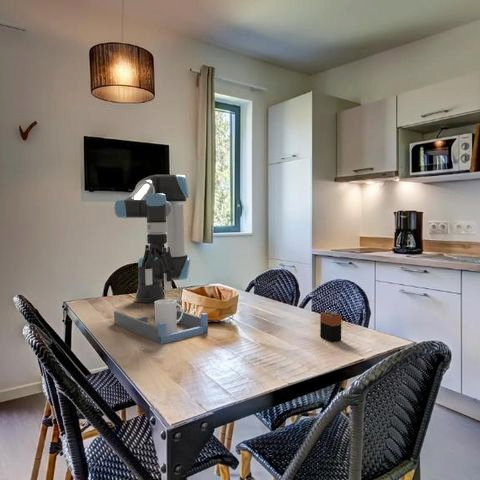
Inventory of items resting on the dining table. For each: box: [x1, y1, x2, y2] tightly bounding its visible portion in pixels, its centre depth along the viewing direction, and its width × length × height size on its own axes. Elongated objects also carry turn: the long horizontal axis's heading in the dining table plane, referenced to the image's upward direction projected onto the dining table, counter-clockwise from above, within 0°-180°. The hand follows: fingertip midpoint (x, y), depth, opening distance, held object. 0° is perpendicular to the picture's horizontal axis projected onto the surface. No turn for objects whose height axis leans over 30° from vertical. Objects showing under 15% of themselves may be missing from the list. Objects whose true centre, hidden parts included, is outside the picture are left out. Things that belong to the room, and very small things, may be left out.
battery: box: [319, 309, 342, 343], centre depth 139 cm, size 4×7×10 cm, turn 27°
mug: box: [154, 298, 184, 334], centre depth 148 cm, size 12×8×12 cm
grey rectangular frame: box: [113, 309, 201, 344], centre depth 155 cm, size 20×34×5 cm, turn 43°
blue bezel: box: [157, 312, 209, 345], centre depth 142 cm, size 20×2×7 cm, turn 133°
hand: (158, 287), depth 155 cm, fingers open, 13 cm apart
